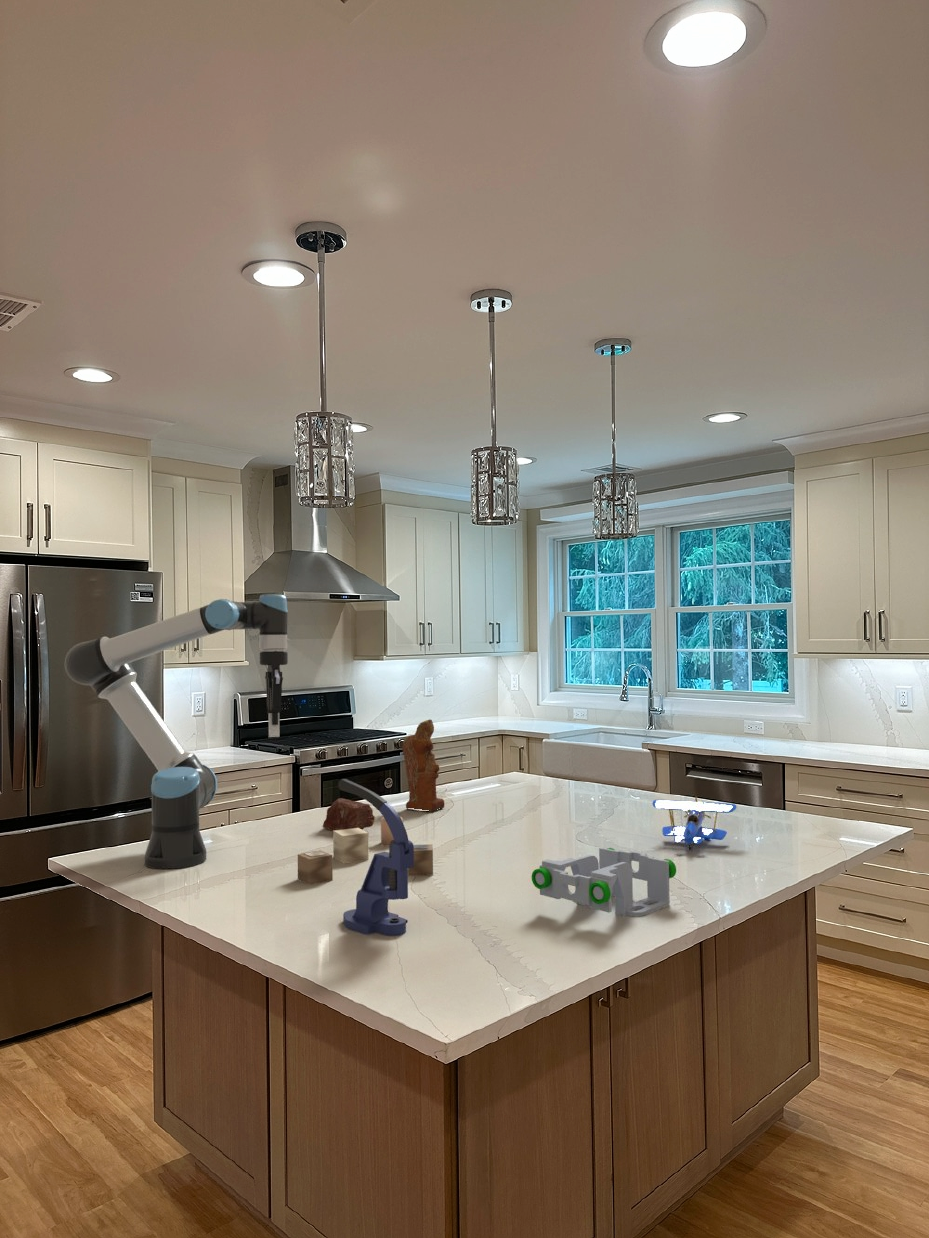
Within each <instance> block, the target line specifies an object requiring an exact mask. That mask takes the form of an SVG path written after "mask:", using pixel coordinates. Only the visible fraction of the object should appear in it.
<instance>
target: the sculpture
mask: <svg viewBox="0 0 929 1238" xmlns="http://www.w3.org/2000/svg"><path fill="white" fill-rule="evenodd" d="M434 732H435V725H434V721H433V720H432V719H426V720H424V721H422V722H420V723H419V724H418V726H417V728H416V731H415V733H414V734H410V735H408V736H406V738H405V739H403V741H402V742H401V750H402V755H403V758H404V765H405V770H406V776H407V787H408V792H409V794H408V795H409V798H408V799H409V800H407V802H406V804H405V809H406V808H414V809H422V810H429V811H433V812H435V811H434V810H436V811H438V810H440V809H439V808H442V809H444V808H445V800H444V799H443V798H439V797H437V784H436V783H437V782H436V781H437V779H438V778H439V775H440V774H439V771H440V765H439V764H437V762H436V756H435V754H434V753H433V752H432V751H433V750H434V743H433V741H432V740H431V738H432V735H433V733H434ZM437 809H438V810H437Z"/></svg>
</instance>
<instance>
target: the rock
mask: <svg viewBox="0 0 929 1238" xmlns="http://www.w3.org/2000/svg"><path fill="white" fill-rule="evenodd" d="M373 812H374V809H373V808H372V807H371V804H369V803H363V802H361V801H356V800H350V799H346V798H342V797H339V798H337V799H336V800H335V801H334V802H332V804H331V805H330V806H329V807H328V808H327V810H326V815H325V816H326V817H325V819H324V820H323V823H322V824H323V825H322V828H323V829H326V830H329V831H336V830H344V829H353V828H360V829H362V830H364V829H365V828H371V827H373V825H374V822H375V820H376V819H375V818H376V817H375V815H374V813H373Z"/></svg>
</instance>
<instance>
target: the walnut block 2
mask: <svg viewBox="0 0 929 1238" xmlns="http://www.w3.org/2000/svg"><path fill="white" fill-rule="evenodd" d="M413 846H414V867H412V868H408V877H409V876H411V877H413V876H434V862H433V861H434V849H433V847H434V846H433V844H430V843H429V844H428V843H427V844H413Z"/></svg>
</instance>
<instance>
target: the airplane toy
mask: <svg viewBox="0 0 929 1238" xmlns="http://www.w3.org/2000/svg"><path fill="white" fill-rule="evenodd" d="M694 798H695V801H689V800H673V799H654V800H653V801H652V806H653V807H654V808H655V809H658V810H668V814H669V820H670V825H669V826H666V825H665V826H663V827H662V829H661V831H662V835H663V836H664V837H673V841H674V842H675V843H677V844H679V843H681V842H683V841H684V843H685V844H687V845H688V851H692V849H693V847H692V844H696V845H699V844H702V843H703V840H706V841H707V842H708V841H710V840H715V841H716V840H717V841H722V840H724V839H725V837H726V836H727V834H728V833H727V831H726V830H724V829H719V828H716V827H717V821H718V820H717V819H718V813H722V814H723V813H725V814H729V813H733V812H734V811H736V809H737V807H738V806H737V804H734V803H728V802H706V801H705V802H704V801H698V796H695V797H694ZM674 811H682V812H685V815H684V816H683V818H686V824H685V825H675V819H674ZM705 813H715V817H714V825H713V827H712V828H711V827H706V826H705V827H704V826H702V825H703V823H704V820H705V817H706V818H708V819H710V820H711V819H712V817H711V816H710V815H708V814H705Z"/></svg>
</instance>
